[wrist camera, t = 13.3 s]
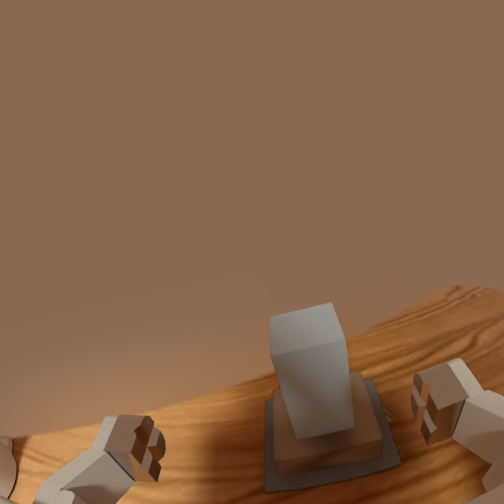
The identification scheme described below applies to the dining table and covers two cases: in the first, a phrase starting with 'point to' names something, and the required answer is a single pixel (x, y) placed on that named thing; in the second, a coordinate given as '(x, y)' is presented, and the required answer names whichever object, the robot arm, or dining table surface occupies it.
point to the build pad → (335, 474)
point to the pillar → (312, 370)
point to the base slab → (326, 437)
